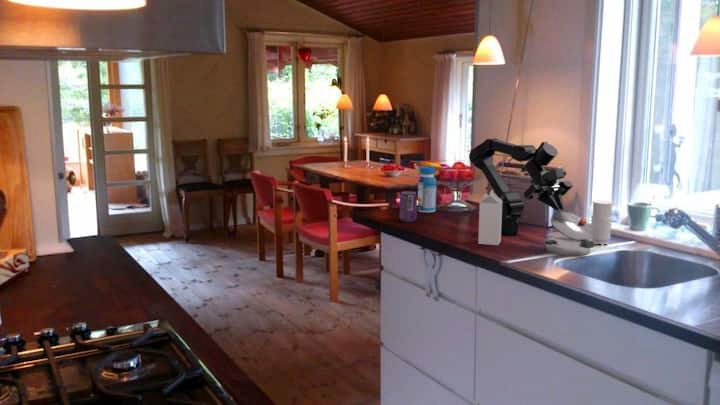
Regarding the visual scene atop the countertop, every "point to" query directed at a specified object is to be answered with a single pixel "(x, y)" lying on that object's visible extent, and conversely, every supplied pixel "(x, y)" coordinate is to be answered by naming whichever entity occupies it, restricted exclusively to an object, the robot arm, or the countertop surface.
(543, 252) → the countertop surface
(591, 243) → the cooker pot
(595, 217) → the white cylinder
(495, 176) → the robot arm
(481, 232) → the milk carton
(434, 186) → the beverage bottle
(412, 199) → the beverage can
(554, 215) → the cooker lid
